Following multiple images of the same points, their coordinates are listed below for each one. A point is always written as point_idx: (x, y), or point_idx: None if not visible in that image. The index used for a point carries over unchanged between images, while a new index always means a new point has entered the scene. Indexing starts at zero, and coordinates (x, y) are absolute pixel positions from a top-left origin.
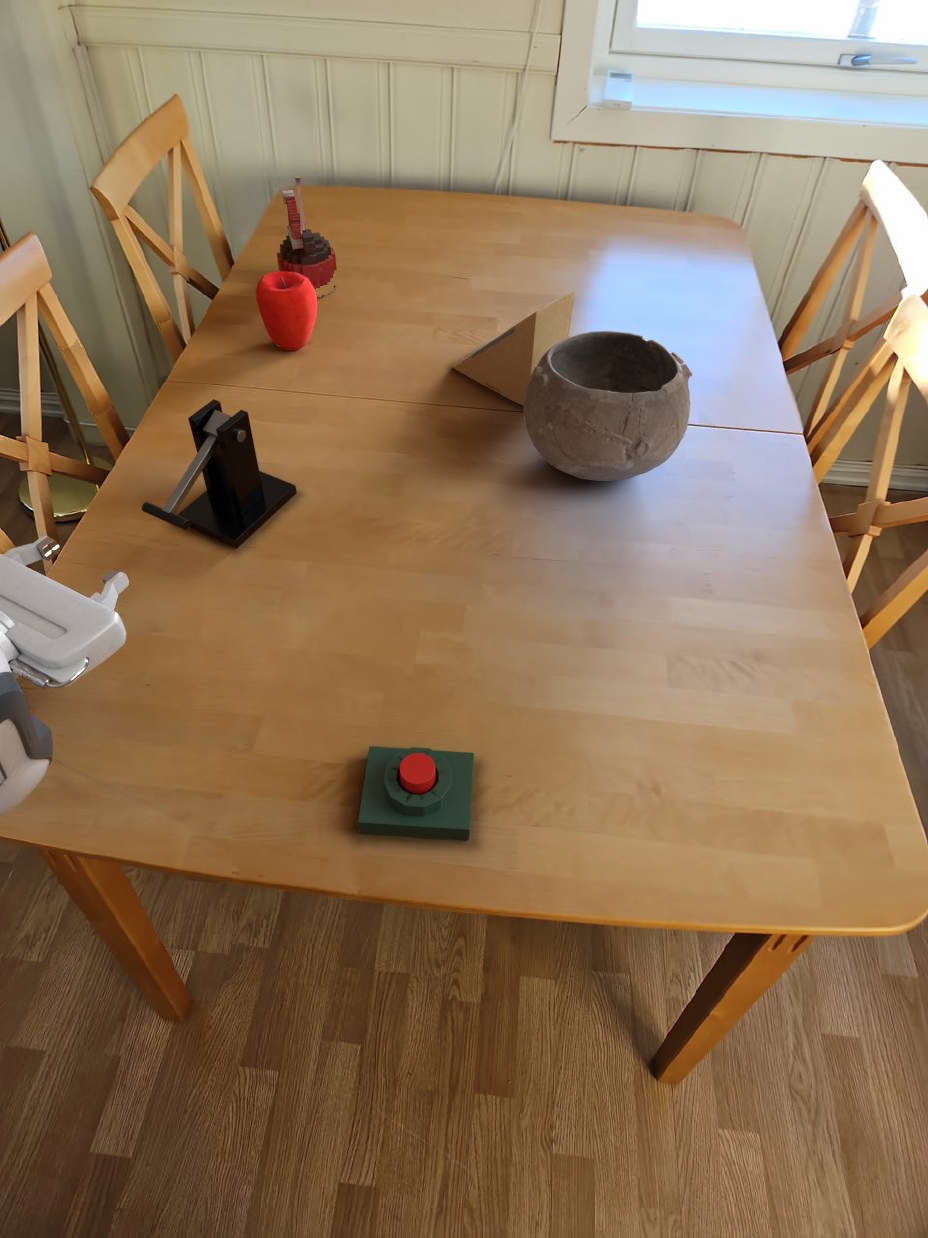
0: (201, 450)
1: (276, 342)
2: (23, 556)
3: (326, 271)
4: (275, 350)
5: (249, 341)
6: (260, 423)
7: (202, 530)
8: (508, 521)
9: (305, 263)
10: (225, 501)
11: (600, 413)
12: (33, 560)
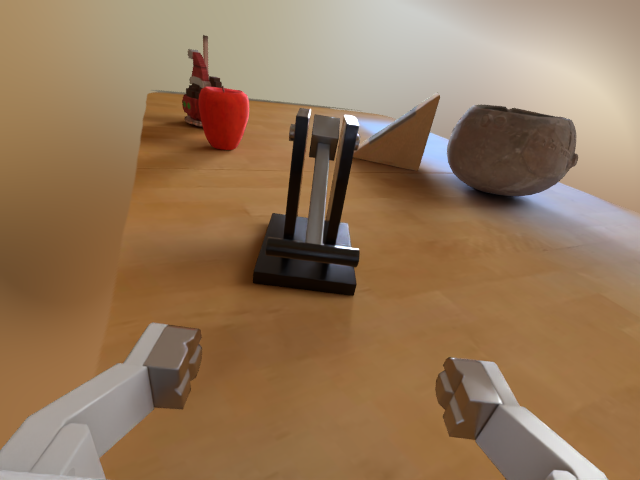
0: (319, 159)
1: (217, 142)
2: (92, 429)
3: None
4: (214, 150)
5: (186, 146)
6: (250, 189)
7: (297, 283)
8: (512, 227)
9: None
10: None
11: (558, 133)
12: (124, 428)
